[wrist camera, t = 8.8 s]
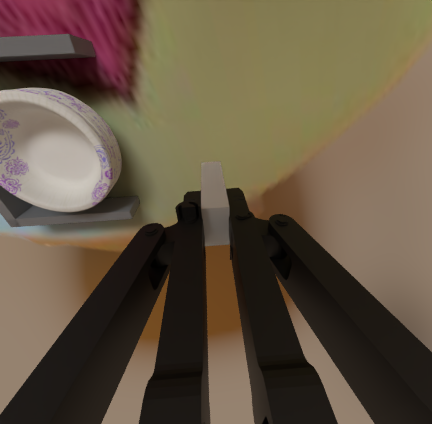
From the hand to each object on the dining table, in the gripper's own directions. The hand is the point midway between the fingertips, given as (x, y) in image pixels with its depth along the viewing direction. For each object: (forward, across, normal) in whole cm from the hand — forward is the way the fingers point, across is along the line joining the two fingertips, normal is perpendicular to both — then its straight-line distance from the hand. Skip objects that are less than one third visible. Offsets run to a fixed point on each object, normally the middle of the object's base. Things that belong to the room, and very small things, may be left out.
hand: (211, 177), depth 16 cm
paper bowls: (+18, -20, -1) cm, 27 cm away
